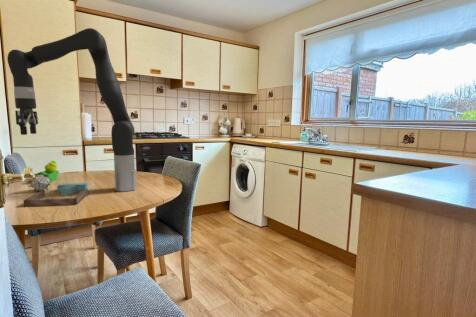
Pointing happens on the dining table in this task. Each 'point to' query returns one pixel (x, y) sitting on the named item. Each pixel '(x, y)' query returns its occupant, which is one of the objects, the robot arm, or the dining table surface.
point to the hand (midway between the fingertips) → (29, 134)
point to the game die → (40, 182)
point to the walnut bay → (53, 200)
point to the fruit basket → (50, 171)
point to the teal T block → (71, 188)
